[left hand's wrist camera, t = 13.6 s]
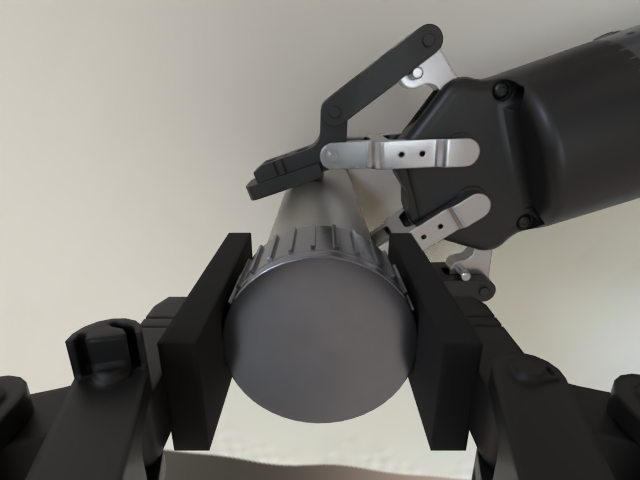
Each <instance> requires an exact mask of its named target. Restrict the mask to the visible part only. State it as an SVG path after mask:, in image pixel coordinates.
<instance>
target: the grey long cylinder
mask: <svg viewBox="0 0 640 480" xmlns="http://www.w3.org/2000/svg"><path fill="white" fill-rule="evenodd" d="M312 224H316V226H332V224H333V225H336V227H338V228H343V229H346V230H349V231H351V230H352V229H353V230H355V232H356V233H357V234H359V235H361V236H363V237H365V238H366V239H369V238H371V237H370V234H369V231H368V228H367V225H366V222H365V219H364V217H363V214H362V211H361V208H360V205H359V202H358V200H357V197H356V194H355V191H354V188H353V185H352V182H351V180H350V177H349V174H348V172H347V170H346V169H337V170H331V169H330V170H327V171H324V177H323V178H320V179H317V180H314V181H311V182H307V183H305V184H302V185H299V186H296V187H293V188H290V189H287V190H286V192H285V194H284V197H283V200H282V203H281V206H280V209H279V211H278V214H277V217H276V220H275V223H274V225H273V228H272V231H271V234H270V237H269V240H268V242H269V241H271V240H272V239H273V237H274V235H276V234H278V236H279V235H281V234H283V233H285V232H288V231H290V230H292V228H293V227H296V229H297V228H301V227H307V226H312ZM268 242H267V243H268Z"/></svg>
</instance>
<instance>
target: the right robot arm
mask: <svg viewBox="0 0 640 480" xmlns="http://www.w3.org/2000/svg"><path fill="white" fill-rule="evenodd" d="M442 43H443V35H442V32H441V30H440V29H439V28H438V27H437V26H436V25H433V24H426V25H423V26H422V27H420V28H419V29H417V30H416V31H414V32H413V33H411V34H410V35H408V36H407V37H406V38H404V39H403V40H402V41H400V42H399V43H398V44H397V45H395V46H394V47H393V48H391V49H390V50H389V51H388V52H386V53H385V54H384V55H382V56H381V57H380V58H379V59H377V60H376V61H375V62H373V63H372V64H371V65H370V66H368V67H367V68H366V69H365V70H363V71H362V72H361V73H359V74H358V75H357V76H356V77H354V78H353V79H352V80H350V81H349V82H348V83H347V84H345V85H344V86H343V87H341V88H340V89H339V90H338V91H336V92H335V93H334V94H333V95H331V96H330V97H329V98H327V99H326V100H325V101H324V102H323V104H322V106H321V124H320V135H319V138H318V139H317V141H316V142H315V143H313V144H312V145H310V146H307V147H304V148H301V149H298V150H295V151H292V152H289V153H287V154H284V155H281V156H278V157H275V158H272V159H269V160H266V161H265V162H264V163H263V164H261V165H260V166H259V167H258V168H257V169H256V171H255V172H254V176H255V179H253V180H251V181H250V182H249V183H248V185H247V186H246V188H247V191H248V193H249V196H250V198H251V200H257V199H261V198H263V197H266V196H269V195H272V194H275V193H278V192H281V191H284V190H287V189H290V188H293V187H296V186H299V185H302V184H305V183H307V182H311V181H314V180H317V179H320V178H323V177H324V171H327V170H330V169H331V170H337V169H358V168H373V169H393V172H394V174H395V176H396V177H397V179H398V181H399V182H400V184H401V202H402V205H403V208H402V209H400V210H399V211H397V212H396V213H394V214H393V215H391V216H390V217H388V218H387V219H386V221H385V222H384V224H382V225H381V226H380V227H378V228H376V229H375V230H373V231H372V232H370V233H369V234H370V237H371V239H372V240H373V243H374V244H375V245H376V246H377V247H378V248H379V249H380V250H382V251H383V250H385V251H386V253H387V255H388V246H389V233H412V235H413V236H414V238H415V240H416V241H417V243H418V244H419V246H420V247H421V249H422V250H423V251H424V250H426V249H427V248H429V247H431V246H432V245H434V244H435V243H437V242H439V241H440V240H442V239H444V240H447V241H451V242H454V243H457V244H461V245H464V246H467V248H466V249H465V250H464V251H463V252H461V253H459V254H453V255H450V256H449V257H448V258H447V260H446V262H431V264H432V266H433V267H434V269H435V270H436V272H437V273H438V275H439V276H440V278H441V279H442V281H443V282H444V284H445V285H446V287H447V288H448V290H449V292H450V293H451V295H452V296H473V297H474V298H476V299H478V300H479V301H481V302H483V301H487V300H489V299H491V298H492V297H493V296H494V294H495V291H496V288H495V285H494V284H493V283H492V282H491V281H490V279H489V269H490V262H491V255H492V249H495V248H497V247H499V246H500V245H502V244H503V243H504V242H505V241H506V240H507V239H508V238H510V237H511V236H512V235H514V234H516V233H518V232H520V231H523V230H527V229H533V228H539V227H544V226H549V225H552V224H555V223H558V222H562V221H565V220H568V219H572V218H575V217H578V216H582V215H585V214H588V213H591V212H595V211H598V210H601V209H605V208H608V207H611V206H614V205H617V204H621V203H624V202H627V201H631V200H634V199H637V198H640V25H638V26H635V27H632V28H629V29H626V30H623V31H616V32H610V33H607V34H604V35H602V36H600V37H598V38H596V39H594V40H593V41H592V42H589V43H586V44H583V45H580V46H577V47H574V48H571V49H569V50H566V51H563V52H560V53H557V54H554V55H552V56H549V57H546V58H543V59H540V60H537V61H534V62H532V63H529V64H526V65H523V66H520V67H517V68H514V69H512V70H509V71H506V72H503V73H500V74H497V75H494V76H492V77H488V78H485V79H473V78H469V77H459V78H457V76H456V75H455V73H454V71H453V69H452V68H451V66H450V64H449V63H448V61H447V59H446V57H445V56H444V54H443V52H442V50H441V49H440V48H441V46H442ZM397 82H398V83H399V84H400V85H401V86H402V87H404V88H417V87H419V86H421V85H423V84H426V85H429V86H431V87H432V88H433V90H434V91H433V92H432V93H431V95H430V96H429V97H428V99H427V100H426V101H425V103H424V104H423V105H422V107H421V108H420V109H419V110H418V112H417V113H416V114H415V116H414V117H413V118H412V120H411V121H410V122H409V124H408V125H407V126H406V128H405V129H404V130H403V132H402V133H390V134H371V135H365V136H349V137H347V120H348V119H350V118H351V117H352V116H354V115H355V114H356V113H358V112H359V111H360V110H361V109H363V108H364V107H365V106H367V105H368V104H369V103H371V102H372V101H373V100H375V99H376V98H377V97H379V96H380V95H381V94H383V93H384V92H385V91H387V90H388V89H389V88H391V87H392V86H393V85H394V84H396V83H397ZM422 235H423V236H422Z"/></svg>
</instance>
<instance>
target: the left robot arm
mask: <svg viewBox="0 0 640 480" xmlns="http://www.w3.org/2000/svg"><path fill="white" fill-rule="evenodd" d="M388 257H389V260H390V262H391V264H392V265H394V264H395V265H396V267H397V269H398V271H399V273H400V276H401V278H402V280H403V282H404V285H405V287H406V289H407V292H408V295H409V298H410V300H411V302H412V304H413V307H414V309H415V313H413V314H414V317H415V320H416V324H417V330H418V340H417V350H416V358H415V361H414V364H413V367H412V370H411V372H410V373H409V375H408V378H409V382H410V385H411V388H412V391H413V394H414V398H415V401H416V404H417V407H418V411H419V414H420V417H421V420H422V423H423V427H424V430H425V433H426V436H427V440H428V443H429V446H430V449H431V450H466V446H467V440H468V434H469V430H470V432H471V435H472V437H473V439H474V441H475V444H476V446H477V451H476V457H475V463H474V468H473V474H472V480H640V375H638V374H627V375H620V376H619V377H618V378H617V379H616V380H614V384H613V387H612V390H611V393H610V392H605V391H600V390H595V389H590V388H585V387H580V386H576V385H572V384H568V382H567V380H566V378H565V377H564V375H563V374H562V373H561V372H560V370H559V369H558V368H556V367H555V366H553V365H552V364H550V363H549V362H547V361H545V360H543V359H541V358H538V357H536V356H533V355H529V354H524V353H523V351H522V350H521V349H520V347H519V346H518V345H517V344H516V342H515V341H514V340H513V339H512V337H511V336H510V335H509V333H508V332H507V331H506V330H505V328H504V327H502V326H501V323H500V322H499V321H498V319H497V318H494V314H493V313H492V312H491V311H490V309H489V308H488V307H487V305H486V304H484V303H482V302H481V301H479V300H478V299H476V298H474V297H473V296H452V295H451V293H450V292H449V290H448V288H447V287H446V285H445V284H444V282H443V281H442V279H441V278H440V276H439V275H438V273H437V272H436V270H435V269H434V267H433V266H432V264H431V262H430V261H429V259H428V258H427V256H426V255H425V253H424V252H423V250H422V249H421V247H420V246H419V244H418V243H417V241H416V240H415V238H414V236H413V235H412V233H389V246H388ZM248 259H252V243H251V233H229V234H228V235H227V237H226V238H225V240H224V241H223V243H222V245H221V246H220V248H219V249H218V251H217V252H216V254H215V255H214V257H213V258H212V260H211V261H210V263H209V264H208V266H207V267H206V269H205V271H204V272H203V274H202V275H201V277H200V278H199V280H198V281H197V283H196V284H195V286H194V287H193V289H192V290H191V292H190V293H189V295H188V297H168V298H167V299H165V300H163V301H162V302H160V303H159V304H157V305H156V306H154V307H153V309H152V310H151V311H150V313H149V314H148V315H147V316H146V319H144V320H143V322H142V323H141V324H139V323H138V322H137V321H135V320H130V319H126V318H122V319H109V320H104V321H99V322H96V323H93V324H90V325H88V326H85V327H83V328H81V329H80V330H78V331H76V332H75V333H73V334H72V335H71V336H70V337H69V338H68V339H67V340H66V341H65V343H66V347H67V350H68V354H69V358H70V362H71V366H72V370H73V374H74V378H75V379H74V381H73V383H72V385H71V386H67V387H64V388H59V389H54V390H49V391H45V392H40V393H35V394H30V392H29V389H28V386H27V383H26V382H25V381H24V380H23V379H22V378H21V377H15V376H1V377H0V480H164V477H165V469H166V465H165V457H164V451H163V449H164V446H165V444H166V442H167V439H168V437H169V435H170V433H172V439H173V445H174V450H210V447H211V444H212V440H213V437H214V434H215V431H216V427H217V424H218V421H219V418H220V415H221V411H222V408H223V405H224V402H225V398H226V395H227V392H228V389H229V386H230V382H231V379H232V376H231V373H230V371H229V369H228V367H227V364H226V361H225V357H224V348H223V337H222V330H223V324H224V320H225V317H226V314H227V311H228V309H229V306H227V303H228V300H229V298H230V296H231V294H232V291H233V289H234V287H235V285H236V282H237V280H238V278H239V276H240V274H241V273H242V271H243V269H244V267H245V264H246V262H247V260H248Z"/></svg>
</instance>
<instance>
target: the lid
mask: <svg viewBox="0 0 640 480" xmlns="http://www.w3.org/2000/svg"><path fill="white" fill-rule="evenodd" d="M227 306H229V309H228V311H227V314H226V317H225V320H224V324H223V330H222V337H223V348H224V357H225V361H226V364H227V367H228V369H229V371H230V373H231V376H232V377H233V379H234V380H235V382H236V383H237V385H238V386H239V387H240V388H241V389H242V391H243V392H244V393H245V394H246V395H247V396H248V397H250V398H251V399H252V400H253V401H254V402H256V403H257V404H258V405H260V406H261V407H263V408H265V409H267V410H268V411H270V412H272V413H274V414H277V415H279V416H282V417H285V418H288V419H292V420H295V421H301V422H308V423H332V422H339V421H344V420H348V419H352V418H355V417H358V416H361V415H364V414H366V413H368V412H370V411H372V410H374V409H375V408H377V407H379V406H380V405H382V404H383V403H385V402H386V401H387V400H388V399H389V398H391V397H392V396H393V395H394V394H395V393H396V392H397V391H398V390H399V389H400V387H401V386H402V385H403V383H404V382H405V380H406V379H407V377H408V375H409V373H410V372H411V370H412V367H413V364H414V361H415V358H416V350H417V340H418V330H417V324H416V320H415V317H414V314H413V313H415V309H414V307H413V304H412V302H411V300H410V298H409V295H408V292H407V289H406V287H405V285H404V282H403V280H402V278H401V276H400V273H399V271H398V269H397V267H396V265H395V264H394V265H392V264H391V262H390V260H389V257H388V255H387V253H386V251H385V250H383V251H382V250H380V249H379V248H378V247H377V246H376V245H375V244H374V243H373V240H372V239H371V238H369V239H366V238H365V237H363V236H361V235H359V234H357V233H356V232H355V230H353V229H352V230H351V231H349V230H346V229H343V228H338V227H336V225H333V224H332V226H316V224H312V226H307V227H301V228H297V229H296V227H293V228H292V230H290V231H288V232H285V233H283V234H281V235H279V236H278V234H276V235H274V237H273V239H272V240H271V241H269V242H268V243H267V244H265V245H264V246H262V245H260V246H259V248H258V250H257V253H256V254H255V255H254V256H253V258H252V259H248V260H247V262H246V264H245V267H244V269H243V271H242V273H241V274H240V276H239V278H238V280H237V282H236V285H235V287H234V289H233V291H232V294H231V296H230V298H229V300H228V303H227Z"/></svg>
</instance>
